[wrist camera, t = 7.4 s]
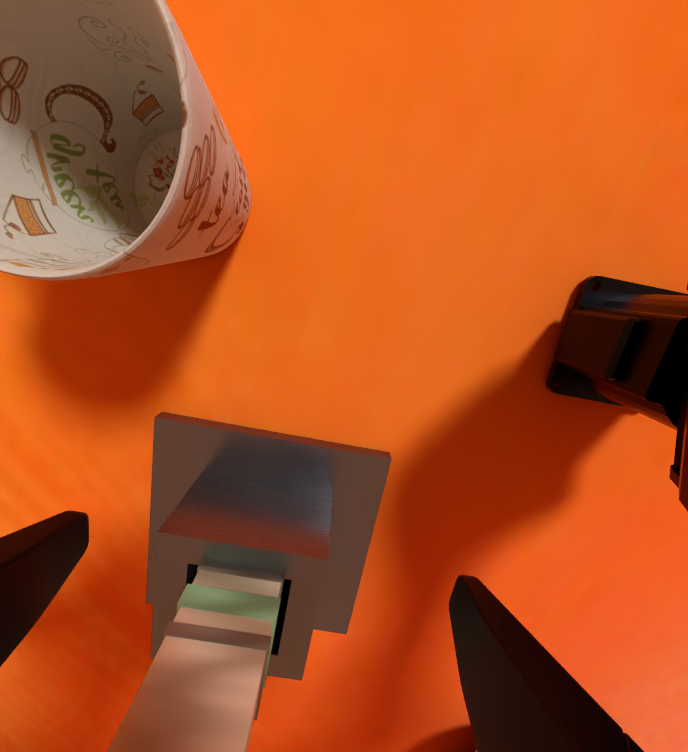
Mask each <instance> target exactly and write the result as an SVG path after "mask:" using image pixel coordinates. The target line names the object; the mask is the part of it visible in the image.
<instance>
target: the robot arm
mask: <svg viewBox="0 0 688 752" xmlns="http://www.w3.org/2000/svg"><path fill="white" fill-rule="evenodd" d="M593 282H595V283H596V287H595V289H594V290H592V288H591V286H592V284H593ZM687 290H688V285H687ZM557 381H559V385H558V386H556V387H554V384H555V383H556V382H557ZM546 387H547V388H548V390H550V391H552V392H554V393H557V394H562V395H567V396H573V397H578V398H583V399H588V400H594V401H599V402H604V403H609V404H615V405H620V406H625V407H628V408H630V409H632V410H634V411H636V412H638V413H641V414H643V415H645V416H647V417H649V418H651V419H654V420H656V421H658V422H660V423H662V424H664V425H667V426H669V427H671V428H673V429H675V430H677V437H676V447H675V458H674V465H671V466H670V476H669V477H670V479H671V480H672V481H673V482H674V484H675V485H676V486H677V487H678V488H679V500H680V501H681V503H682V504H683V506H684V507H685V508H686V510H687V511H688V294H684V293H679V292H675V291H670V290H665V289H660V288H655V287H650V286H646V285H641V284H636V283H631V282H626V281H621V280H617V279H612V278H607V277H602V276H590V277H588V278H586V279H585V280H584V282H583V283H582V286H581V289H580V291H579V294H578V297H577V299H576V302H575V305H574V308H573V310H572V312H571V313H570V314H569V317H568V319H567V322H566V325H565V328H564V330H563V333H562V336H561V339H560V341H559V344H558V347H557V349H556V352H555V359H554V362H553V365H552V367H551V370H550V373H549V376H548V378H547V381H546ZM88 543H89V519H88V515H87V514H86V513H83V512H77V511H65V512H62V513H60V514H57V515H55V516H52V517H50V518H48V519H45V520H43V521H40V522H38V523H35V524H33V525H30V526H28V527H25V528H23V529H21V530H18V531H16V532H13V533H11V534H8V535H6V536H3V537H1V538H0V667H1V665H2V664H3V663H4V662H5V661H6V659H7V658H8V657H9V656H10V654H11V653H12V652H13V651H14V649H15V648H16V647H17V646H18V645H19V643H20V642H21V641H22V640H23V638H24V637H25V636H26V635H27V633H28V632H29V631H30V630H31V628H32V627H33V626H34V625H35V623H36V622H37V621H38V619H39V618H40V617H41V615H42V614H43V612H44V611H45V610H46V608H47V607H48V605H49V604H50V602H51V601H52V599H53V598H54V597H55V595H56V594H57V592H58V591H59V589H60V588H61V586H62V585H63V583H64V582H65V581H66V579H67V578H68V576H69V575H70V573H71V572H72V570H73V569H74V567H75V566H76V564H77V563H78V562H79V560H80V559H81V557H82V556H83V554H84V553H85V551H86V549H87V546H88ZM449 613H450V619H451V625H452V632H453V638H454V645H455V651H456V657H457V664H458V670H459V676H460V681H461V686H462V691H463V695H464V700H465V704H466V708H467V712H468V716H469V720H470V724H471V728H472V732H473V736H474V740H475V744H476V748H477V752H644V751H643V750H642V749H641V748H640V747H639V746H638V745H637V744H636V743H635V742H634V741H633V740H632V738H631V737H630V736H629V735H628V734H626V733H623V730H622V728H621V727H620V726H619V725H618V724H617V723H616V722H615V721H614V720H613V719H612V718H611V717H610V716H609V715H608V714H607V713H606V712H605V711H604V709H603V708H602V707H601V706H600V705H599V704H598V703H597V702H596V701H595V700H594V699H593V698H592V697H591V696H590V695H589V694H588V693H587V692H586V691H585V690H584V689H583V688H582V687H581V685H580V684H579V683H578V682H577V681H576V680H575V679H574V678H573V677H572V676H571V675H570V674H569V673H568V672H567V671H566V670H565V669H564V668H563V667H562V666H561V665H560V664H559V663H558V662H557V660H556V659H555V658H554V657H553V656H552V655H551V654H550V653H549V652H548V651H547V650H546V649H545V648H544V647H543V646H542V645H541V644H540V643H539V642H538V641H537V640H536V639H535V638H534V636H533V635H532V634H531V633H530V632H529V631H528V630H527V629H526V628H525V627H524V626H523V625H522V624H521V623H520V622H519V621H518V620H517V619H516V618H515V617H514V616H513V615H512V614H511V613H510V611H509V610H508V609H507V608H506V607H505V606H504V605H503V604H502V603H501V602H500V601H499V600H498V599H497V598H496V597H495V596H494V595H493V594H492V593H491V592H490V591H489V590H488V589H487V587H486V586H485V585H484V584H483V583H482V582H481V581H480V580H479V579H478V578H476V577H474V576H468V575H459V576H458V578H457V580H456V583H455V586H454V589H453V592H452V594H451V597H450V601H449Z"/></svg>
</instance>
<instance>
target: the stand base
mask: <svg viewBox="0 0 688 752" xmlns="http://www.w3.org/2000/svg"><path fill="white" fill-rule="evenodd" d="M390 462H391V456H390V453H389V452H383V451H378V450H372V449H367V448H361V447H355V446H350V445H344V444H338V443H333V442H327V441H322V440H316V439H310V438H305V437H299V436H294V435H288V434H282V433H277V432H271V431H266V430H260V429H254V428H249V427H243V426H237V425H232V424H226V423H221V422H215V421H209V420H204V419H198V418H193V417H187V416H181V415H176V414H170V413H165V412H161V413H160V414H158V415H157V416H156V417H155V422H154V444H153V465H152V487H151V509H150V530H149V552H148V574H147V595H146V603H147V604H153V620H152V639H151V658H153V659H154V658H155V656H156V654H157V652H158V650H159V648H160V646H161V644H162V642H163V633H164V631H165V629H166V627H167V626H168V624H169V622H170V621H172V622H173V621H174V619H175V617H176V613H177V603H178V601H179V599H180V597H181V595H182V593H183V591H184V590H185V588H186V586H187V584H192V583H193V581H194V579H195V577H196V575H197V567H198V566H199V565H202V566H208V567H214V568H221V569H227V570H233V571H239V572H246V573H252V574H258V575H265V576H271V577H277V578H283V579H284V582H283V588H282V593H281V601H280V606H279V612H278V617H277V623H276V628H275V634H274V639H273V645H272V650H271V656H270V662H269V667H268V672H267V675H268V676H275V677H282V678H289V679H296V680H302V677H303V673H304V668H305V663H306V659H307V654H308V650H309V645H310V641H311V636H312V632H313V629H316V630H322V631H329V632H335V633H342V634H347V630H348V626H349V622H350V618H351V614H352V611H353V607H354V603H355V599H356V595H357V591H358V587H359V583H360V579H361V575H362V571H363V568H364V564H365V560H366V556H367V552H368V548H369V544H370V540H371V536H372V532H373V529H374V525H375V521H376V517H377V513H378V509H379V505H380V501H381V497H382V493H383V489H384V486H385V482H386V478H387V474H388V470H389V466H390Z"/></svg>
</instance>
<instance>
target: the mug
mask: <svg viewBox="0 0 688 752" xmlns="http://www.w3.org/2000/svg"><path fill="white" fill-rule="evenodd" d="M250 206H251V191H250V184H249V179H248V175H247V172H246V170H245V167H244V165H243V162H242V160H241V158H240V156H239V154H238V152H237V149H236V147H235V145H234V143H233V141H232V139H231V137H230V135H229V133H228V130H227V128H226V126H225V124H224V122H223V120H222V118H221V116H220V114H219V111H218V109H217V107H216V105H215V103H214V101H213V99H212V97H211V95H210V92H209V90H208V88H207V86H206V84H205V82H204V80H203V78H202V76H201V73H200V71H199V69H198V67H197V65H196V63H195V61H194V59H193V56H192V54H191V52H190V50H189V48H188V46H187V44H186V42H185V40H184V37H183V35H182V33H181V31H180V29H179V27H178V25H177V23H176V21H175V19H174V17H173V15H172V13H171V11H170V10H169V8H168V6H167V4H166V2H165V0H0V272H3V273H7V274H11V275H15V276H20V277H25V278H30V279H38V280H55V281H62V280H79V279H88V278H96V277H101V276H107V275H112V274H117V273H122V272H128V271H133V270H138V269H143V268H148V267H154V266H159V265H164V264H169V263H174V262H180V261H185V260H190V259H195V258H200V257H205V256H209V255H213V254H216V253H218V252H220V251H222V250H224V249H225V248H227V247H228V246H230V245H231V244H232V243H233V242H234V241H235V240H236V239H237V238H238V237H239V235H240V234H241V232H242V231H243V229H244V227H245V225H246V222H247V220H248V216H249V212H250Z"/></svg>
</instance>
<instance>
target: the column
mask: <svg viewBox="0 0 688 752" xmlns="http://www.w3.org/2000/svg"><path fill="white" fill-rule="evenodd" d="M283 582H284V579H283V578H277V577H271V576H265V575H258V574H252V573H246V572H239V571H233V570H227V569H221V568H214V567H208V566H202V565H199V566H198V567H197V575H196V577H195V579H194V581H193V583H192V584H187V586H186V588H185V590H184V591H183V593H182V595H181V597H180V599H179V601H178V603H177V613H176V617H175V619H174V621H173V622H172V621H170V622H169V624H168V626H167V627H166V629H165V631H164V633H163V642H162V644H161V646H160V648H159V650H158V652H157V654H156V656H155V658H154V660H153V662H152V664H151V666H150V668H149V670H148V672H147V674H146V676H145V678H144V680H143V682H142V684H141V686H140V688H139V690H138V692H137V694H136V696H135V698H134V700H133V702H132V704H131V706H130V708H129V710H128V711H127V713H126V715H125V717H124V719H123V721H122V723H121V725H120V727H119V729H118V731H117V733H116V735H115V737H114V739H113V741H112V743H111V745H110V747H109V749H108V751H107V752H248V747H249V742H250V738H251V733H252V728H253V723H254V720H257V716H258V711H259V706H260V700H261V695H262V689H263V688H264V687H265V682H266V677H267V672H268V667H269V662H270V656H271V650H272V645H273V639H274V634H275V628H276V623H277V617H278V612H279V606H280V601H281V593H282V588H283Z"/></svg>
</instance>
